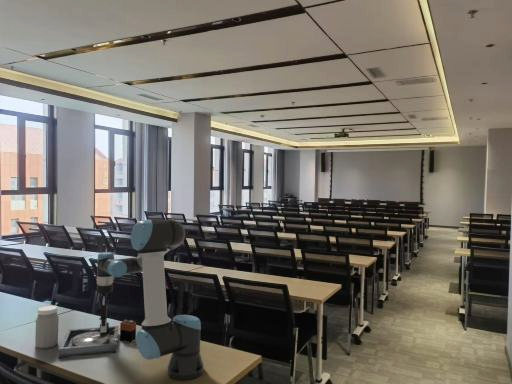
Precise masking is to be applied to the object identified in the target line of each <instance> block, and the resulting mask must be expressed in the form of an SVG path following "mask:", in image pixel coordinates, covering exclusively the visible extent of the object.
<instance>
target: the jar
mask: <svg viewBox="0 0 512 384" xmlns="http://www.w3.org/2000/svg"><path fill="white" fill-rule="evenodd" d="M59 317H60V316H59V315H58V306H57V305H44V306H40V307H39V308H38V309H37V317H36V318H35V338H34V340H35V343H34V344H35V345H34V346H35V347H36V348H37V349H40V350H45V349H51V348H54V347H55V346H57V344H58V343H59Z"/></svg>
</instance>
